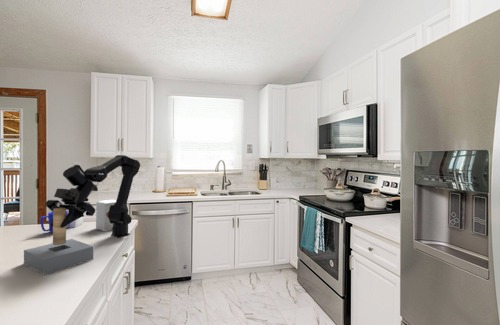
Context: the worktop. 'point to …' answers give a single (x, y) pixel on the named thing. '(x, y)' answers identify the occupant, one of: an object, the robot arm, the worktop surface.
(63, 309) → the worktop surface
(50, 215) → the mug
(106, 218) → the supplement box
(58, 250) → the socket block
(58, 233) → the pin
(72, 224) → the container
